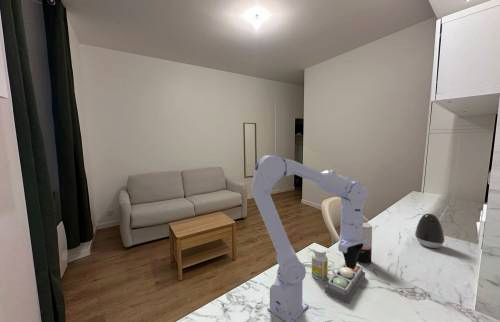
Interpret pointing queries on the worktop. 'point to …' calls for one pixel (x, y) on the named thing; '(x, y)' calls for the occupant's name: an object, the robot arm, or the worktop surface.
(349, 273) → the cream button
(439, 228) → the dark egg shaped speaker
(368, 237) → the grey black container
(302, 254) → the worktop surface
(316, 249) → the supplement bottle
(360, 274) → the tray of pastel eggs
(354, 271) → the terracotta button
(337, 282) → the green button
